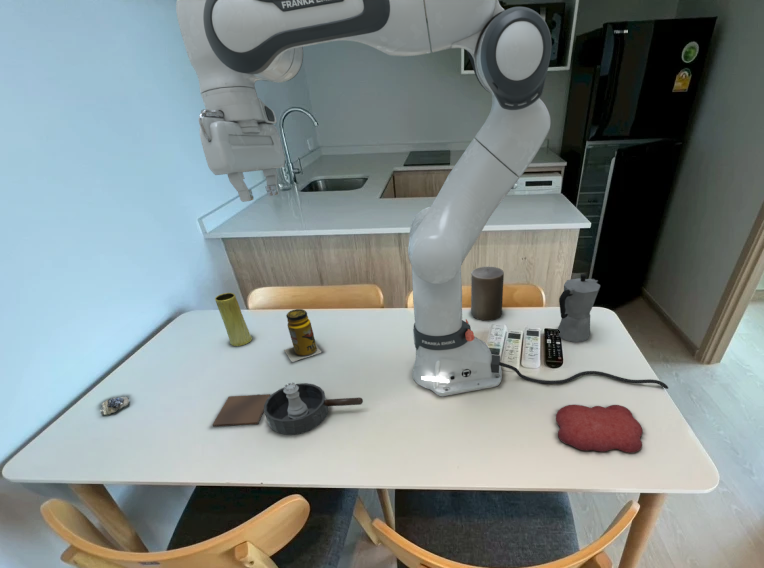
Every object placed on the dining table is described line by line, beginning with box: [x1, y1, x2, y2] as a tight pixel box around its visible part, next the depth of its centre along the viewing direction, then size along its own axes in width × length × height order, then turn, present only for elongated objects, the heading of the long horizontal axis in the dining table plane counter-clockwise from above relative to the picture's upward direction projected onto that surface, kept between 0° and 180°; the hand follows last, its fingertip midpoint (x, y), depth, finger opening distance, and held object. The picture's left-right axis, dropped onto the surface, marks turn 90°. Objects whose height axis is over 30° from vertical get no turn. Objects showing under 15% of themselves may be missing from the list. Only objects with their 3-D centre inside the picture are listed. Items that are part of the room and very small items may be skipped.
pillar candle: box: [470, 265, 505, 322], centre depth 126 cm, size 10×10×15 cm
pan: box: [263, 382, 329, 436], centre depth 93 cm, size 13×13×4 cm
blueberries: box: [99, 396, 130, 416], centre depth 98 cm, size 7×8×2 cm
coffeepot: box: [557, 273, 601, 343], centre depth 112 cm, size 15×9×18 cm, turn 129°
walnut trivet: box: [212, 393, 272, 428], centre depth 96 cm, size 10×10×1 cm
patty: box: [555, 404, 643, 454], centre depth 86 cm, size 18×14×2 cm
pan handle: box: [325, 397, 364, 407], centre depth 92 cm, size 9×2×2 cm, turn 92°
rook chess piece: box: [283, 382, 308, 419], centre depth 91 cm, size 4×4×8 cm
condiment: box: [283, 308, 322, 363], centre depth 112 cm, size 7×8×12 cm
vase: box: [214, 292, 253, 347], centre depth 118 cm, size 6×6×14 cm
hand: (261, 198), depth 78 cm, fingers open, 8 cm apart
